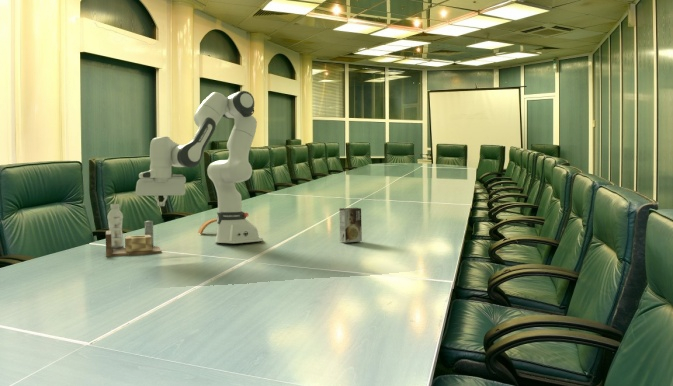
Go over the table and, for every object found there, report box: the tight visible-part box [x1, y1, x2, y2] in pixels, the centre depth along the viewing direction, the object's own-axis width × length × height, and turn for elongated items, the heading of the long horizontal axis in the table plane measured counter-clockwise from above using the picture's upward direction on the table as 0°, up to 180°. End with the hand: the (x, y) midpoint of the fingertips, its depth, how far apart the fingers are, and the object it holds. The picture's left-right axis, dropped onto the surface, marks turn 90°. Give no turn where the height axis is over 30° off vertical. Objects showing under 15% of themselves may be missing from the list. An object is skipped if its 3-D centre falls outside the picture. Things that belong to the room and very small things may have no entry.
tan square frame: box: [124, 234, 152, 252], centre depth 209 cm, size 10×10×6 cm
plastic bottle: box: [106, 203, 125, 249], centre depth 222 cm, size 6×7×20 cm
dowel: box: [144, 220, 154, 247], centre depth 223 cm, size 4×4×12 cm
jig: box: [105, 230, 162, 258], centre depth 208 cm, size 21×16×9 cm
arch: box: [197, 218, 217, 235], centre depth 259 cm, size 6×20×10 cm, turn 117°
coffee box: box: [339, 207, 363, 244], centre depth 238 cm, size 9×6×16 cm
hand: (161, 206), depth 212 cm, fingers closed
